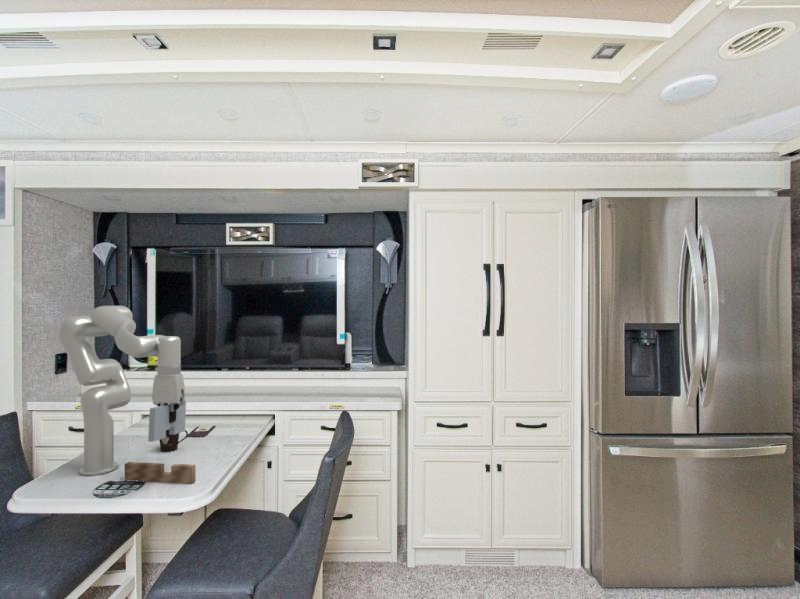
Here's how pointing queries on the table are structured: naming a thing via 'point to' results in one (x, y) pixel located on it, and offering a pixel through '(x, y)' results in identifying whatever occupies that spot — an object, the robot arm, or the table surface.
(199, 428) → the chocolate bar
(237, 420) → the table surface
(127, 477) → the walnut board
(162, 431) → the grey panel
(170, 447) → the coffee mug
